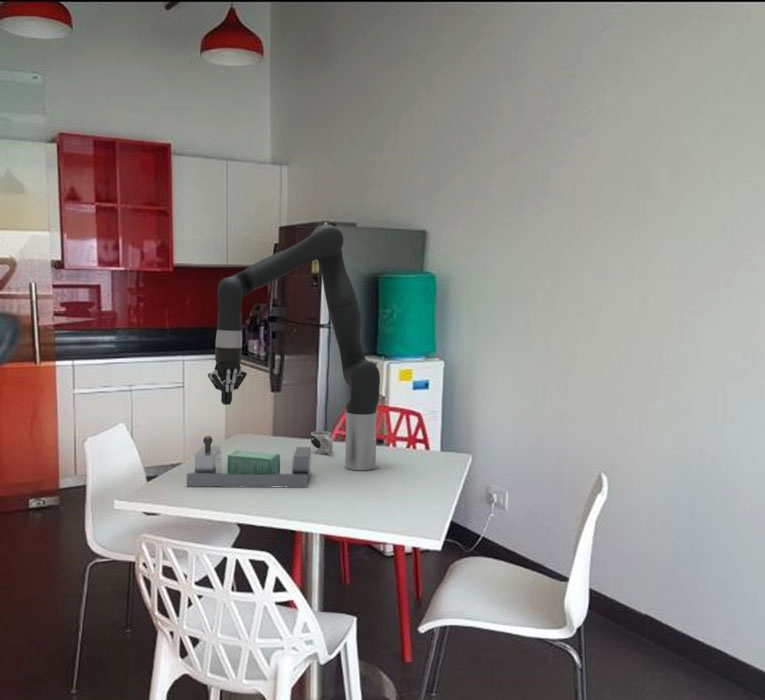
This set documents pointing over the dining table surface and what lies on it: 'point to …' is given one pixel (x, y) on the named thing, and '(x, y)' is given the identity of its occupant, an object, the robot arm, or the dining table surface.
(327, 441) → the mug
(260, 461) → the box
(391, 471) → the dining table surface
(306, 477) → the vise
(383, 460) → the dining table surface
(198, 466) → the sliding jaw
